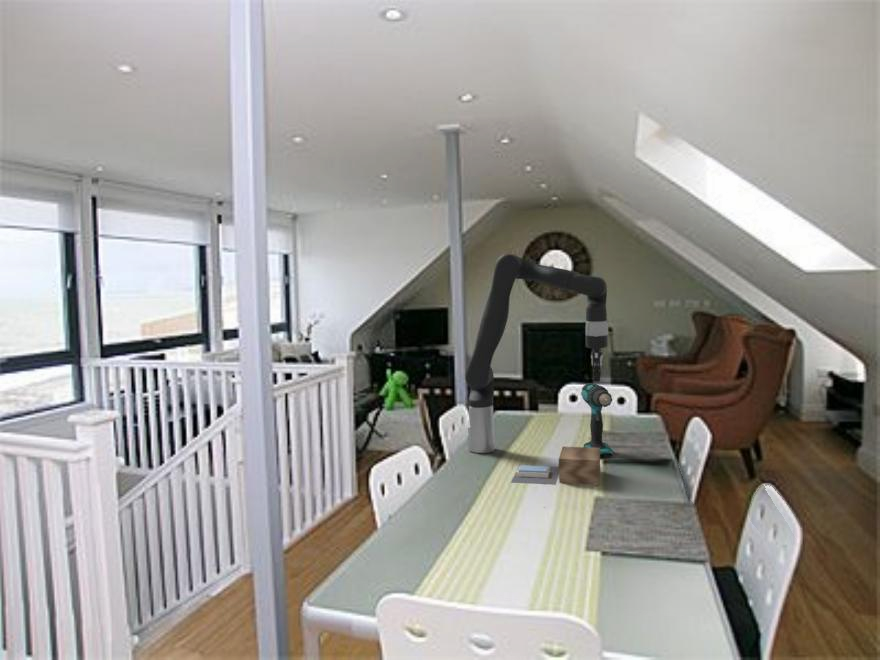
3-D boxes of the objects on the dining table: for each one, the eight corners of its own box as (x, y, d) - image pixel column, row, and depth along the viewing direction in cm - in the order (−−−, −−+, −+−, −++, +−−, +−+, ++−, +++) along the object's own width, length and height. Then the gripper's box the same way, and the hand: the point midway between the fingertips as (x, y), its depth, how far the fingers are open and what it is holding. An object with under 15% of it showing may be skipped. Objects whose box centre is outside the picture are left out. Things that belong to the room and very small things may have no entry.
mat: (510, 483, 196) (510, 482, 196) (519, 466, 214) (519, 465, 214) (555, 485, 193) (555, 484, 193) (560, 468, 210) (560, 466, 210)
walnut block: (559, 483, 194) (558, 458, 194) (563, 469, 208) (562, 446, 207) (599, 485, 191) (598, 460, 190) (600, 471, 204) (599, 447, 204)
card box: (516, 476, 202) (516, 470, 202) (519, 470, 208) (519, 464, 207) (547, 477, 199) (547, 471, 199) (550, 472, 205) (549, 466, 205)
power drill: (621, 464, 210) (620, 391, 208) (595, 465, 211) (593, 392, 209) (603, 443, 236) (601, 379, 234) (579, 444, 237) (577, 380, 235)
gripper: (586, 331, 226) (587, 376, 227) (584, 336, 212) (585, 382, 214) (607, 331, 224) (608, 376, 225) (607, 335, 210) (608, 383, 212)
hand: (597, 379), depth 220 cm, fingers open, 8 cm apart
